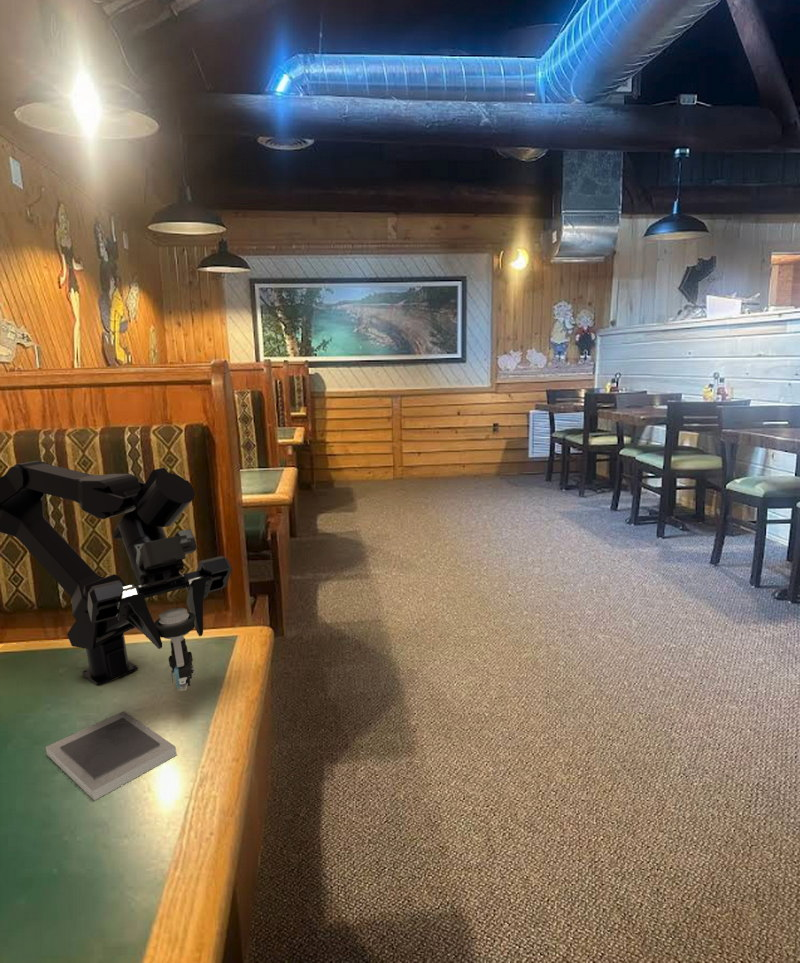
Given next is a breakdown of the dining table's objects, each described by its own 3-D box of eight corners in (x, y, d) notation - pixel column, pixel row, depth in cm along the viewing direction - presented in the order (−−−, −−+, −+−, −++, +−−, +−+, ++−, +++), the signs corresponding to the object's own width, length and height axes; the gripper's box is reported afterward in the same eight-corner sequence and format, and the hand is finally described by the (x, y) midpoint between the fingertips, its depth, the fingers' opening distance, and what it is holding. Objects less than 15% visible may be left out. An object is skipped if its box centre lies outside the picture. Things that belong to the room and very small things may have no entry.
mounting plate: (47, 755, 77) (45, 745, 76) (124, 718, 84) (123, 709, 84) (94, 800, 68) (92, 789, 67) (176, 755, 75) (175, 745, 75)
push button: (204, 689, 81) (193, 620, 79) (162, 699, 80) (150, 628, 78) (203, 667, 87) (193, 602, 85) (164, 675, 86) (153, 610, 84)
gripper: (78, 528, 77) (110, 635, 70) (219, 502, 88) (259, 593, 81) (76, 572, 84) (105, 673, 78) (207, 544, 95) (242, 630, 89)
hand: (181, 640), depth 81 cm, fingers closed on push button, 5 cm apart
